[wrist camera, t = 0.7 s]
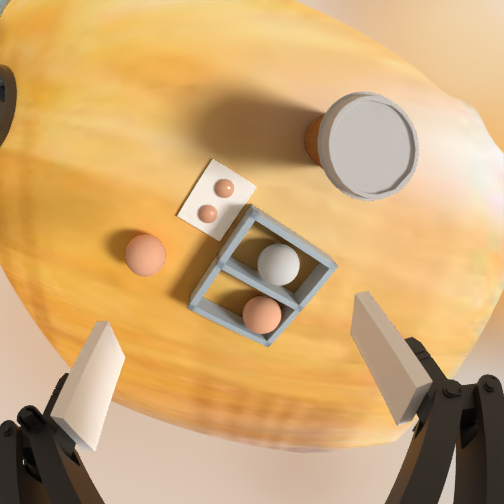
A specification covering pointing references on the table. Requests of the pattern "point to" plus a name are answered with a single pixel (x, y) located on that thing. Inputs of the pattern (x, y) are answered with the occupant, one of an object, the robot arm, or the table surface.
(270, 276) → the ball grey
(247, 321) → the terracotta ball
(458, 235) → the table surface
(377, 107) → the disposable coffee cup
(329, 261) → the rack
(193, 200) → the tile
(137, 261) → the terracotta ball
